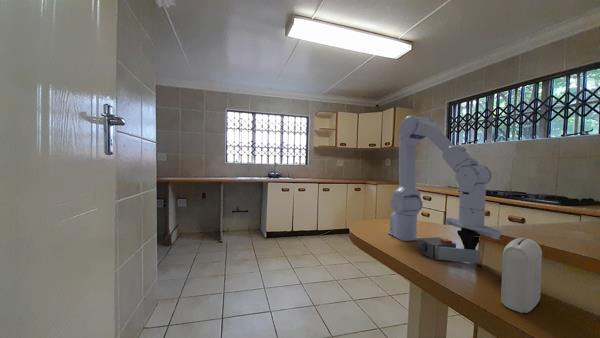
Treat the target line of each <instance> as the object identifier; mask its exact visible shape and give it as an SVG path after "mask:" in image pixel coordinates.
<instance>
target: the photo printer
mask: <svg viewBox="0 0 600 338" xmlns="http://www.w3.org/2000/svg"><path fill="white" fill-rule="evenodd" d="M542 262H543V251H542V248H541V246H540V244H538V242H536V241H535V240H533V239H531V238H525V237H518V238H514V239H513V240H511V241H509V242H508V244H506V246H505V247H504V249H503V252H502V269H501V290H500V294H501V295H500V299H501V300H500V302H501V304H503V305H504V307H506V308H508V309H510V310H512V311H514V312H517V313H521V314H523V313H526V314H527V313H530V312H531V311H532V310H533V309H534V308H535V307H536V306H537V304H538V303H539V302H540V300H541V289H542V287H541V285H542V284H541V283H542Z"/></svg>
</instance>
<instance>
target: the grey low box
mask: <svg viewBox="0 0 600 338" xmlns="http://www.w3.org/2000/svg"><path fill="white" fill-rule="evenodd" d="M416 245H417V246H416V247H417V249H416V251H417V252H418V253H420V254H422V255H424V256H425V257H427V258H430V259H432V260H435V246H436V245H437V246H439V247H449V248H457V243H455V242H453V240H450V239H447V238H446V239H444V238H442V237H439V236H438V237H437V236H436V237H419V238H418V240H417V244H416Z"/></svg>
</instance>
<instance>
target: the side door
mask: <svg viewBox="0 0 600 338" xmlns="http://www.w3.org/2000/svg"><path fill="white" fill-rule="evenodd" d="M478 250H479V249H476V250H472V249H464V248H458V247H456V248H449V247H439V246H437V245H436V246H435V259H434V260H436V261H439V260H440V261H452V262H461V263H470V264H471V263H472V264H479V263H478V262H479V258H480V253H481V251H478Z"/></svg>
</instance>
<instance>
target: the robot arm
mask: <svg viewBox="0 0 600 338" xmlns="http://www.w3.org/2000/svg"><path fill="white" fill-rule="evenodd" d="M426 138H428V139H429V140H430V141H431V142H432V143H433V144H434V145H435V146H436V147H437V148H438V149H439V150H440V152H442V155H441V158H442V160H444V161H445V163H446V164H447V165H448V166H449V167H450V168H451V170H452V171H453V172H454V173H455V175H454V177H455V181H456V182H457V183H458V189H459V202H458V203H459V205H458V206H459V207H458V219H457V218H453V217H446V218H445V225H447V226H453V227H456V228H459V229H460V230H457V231H456V233H457V235H458V237H459V238H460V240H461V242H462V245H463V249H472V250H477V249H476V248H477V246H478V244H479V243H480V241H479V237H475V236H480V234H482V235H484V237H485V236H486V237H489V238H491V239H494V240H501V239H500V238H499V237H500V235H502V236H503V231H502V230H499V229H495V228H494V227H493V228H492V227H490V226H488V225H485V218H486V217H485V216H486V214H485V213H486V197H487V195H486V193H487V192H486V191H487V184H489V182H491V179H492V172H491V170H490V168H489V167H488V166H487V165H483V164H479V161H478V160H477V159H476V158H475V159H474V158H473V157H472V156H471V155H470V154H469V153H468V152H467V150H468V149H467V148H466V147H465V146H461V145H458V144H456V145H454V144H453V143H452V141H450V139H449V138H448V137H447V136H446V135H445V133H444V132H443V131H442V130H441V129H440V127H439V126H438V122H435V121H434V120H433V119H432V118H431V117H429V118H428V117H421V116H419V117H418V116H415V115H408V116H406V117H404V119H403V120H402V121H401V123H400V124H399V139H398V188H396V189H395V190H394V191H393V192H392V199H391V201H390V202H391V203H390V204H391V209H392V210H393V212H391V215H390V218H389V232H388V231H387V234H388V233H389V234H388V235H390V234H391V236H392V235H393V237H395V238H396V239H398V240H400V241H403V242H406V241H407V242H408V241H418V238H420V237H419V236H417V233H418V232H417V229H418V228H417V227H418V215H419V212H421V210H422V209H423V200H422V197H421V192H420V191H419V190H418V189H417V187H416V145H417V144H418V143H419V142H421V141H422V140H424V139H426ZM469 227H470V228H469Z"/></svg>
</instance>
